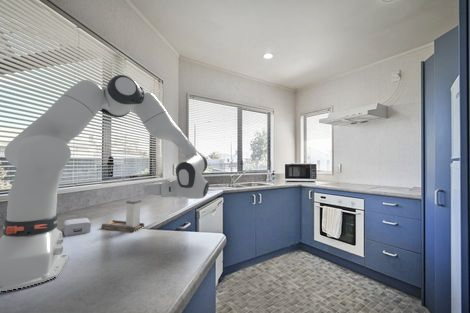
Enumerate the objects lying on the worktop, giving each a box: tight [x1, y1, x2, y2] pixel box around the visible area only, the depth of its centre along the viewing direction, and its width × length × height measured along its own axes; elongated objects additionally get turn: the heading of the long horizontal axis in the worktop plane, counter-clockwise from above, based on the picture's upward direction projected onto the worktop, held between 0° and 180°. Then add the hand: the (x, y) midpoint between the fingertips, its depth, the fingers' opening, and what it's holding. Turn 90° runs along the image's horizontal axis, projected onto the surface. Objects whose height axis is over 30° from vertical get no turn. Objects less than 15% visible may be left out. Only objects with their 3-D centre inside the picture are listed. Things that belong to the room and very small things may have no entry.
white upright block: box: [125, 199, 142, 227], centre depth 105 cm, size 4×5×12 cm
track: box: [101, 219, 145, 233], centre depth 106 cm, size 17×8×2 cm, turn 78°
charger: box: [62, 217, 92, 236], centre depth 101 cm, size 5×9×15 cm
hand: (146, 185), depth 104 cm, fingers closed
